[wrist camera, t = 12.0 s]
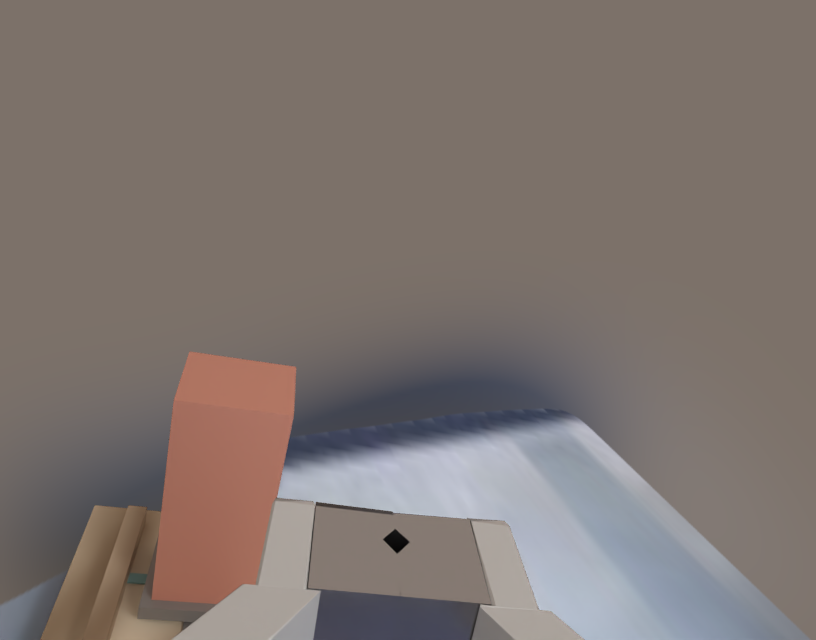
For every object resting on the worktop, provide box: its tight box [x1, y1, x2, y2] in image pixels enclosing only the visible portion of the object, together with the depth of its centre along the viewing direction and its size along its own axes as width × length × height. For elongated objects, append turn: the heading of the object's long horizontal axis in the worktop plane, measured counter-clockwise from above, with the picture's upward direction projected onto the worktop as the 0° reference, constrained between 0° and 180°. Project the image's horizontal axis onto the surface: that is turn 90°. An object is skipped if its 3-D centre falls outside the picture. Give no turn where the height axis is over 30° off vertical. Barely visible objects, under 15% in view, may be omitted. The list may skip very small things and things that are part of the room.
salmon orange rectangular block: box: [137, 352, 296, 622], centre depth 33 cm, size 6×5×13 cm
